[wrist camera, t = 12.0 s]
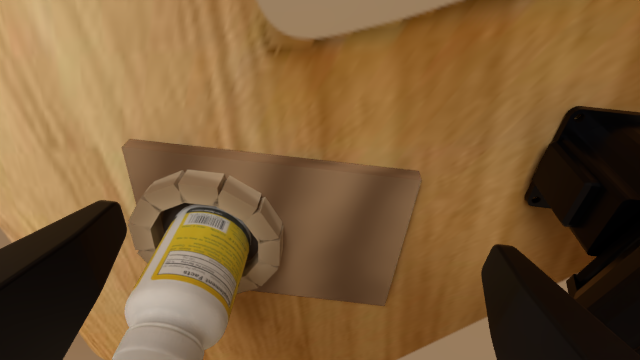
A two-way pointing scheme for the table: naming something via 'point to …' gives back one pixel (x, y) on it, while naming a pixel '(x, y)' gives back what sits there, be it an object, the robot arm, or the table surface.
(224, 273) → the supplement bottle
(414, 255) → the table surface
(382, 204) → the board
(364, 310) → the table surface
